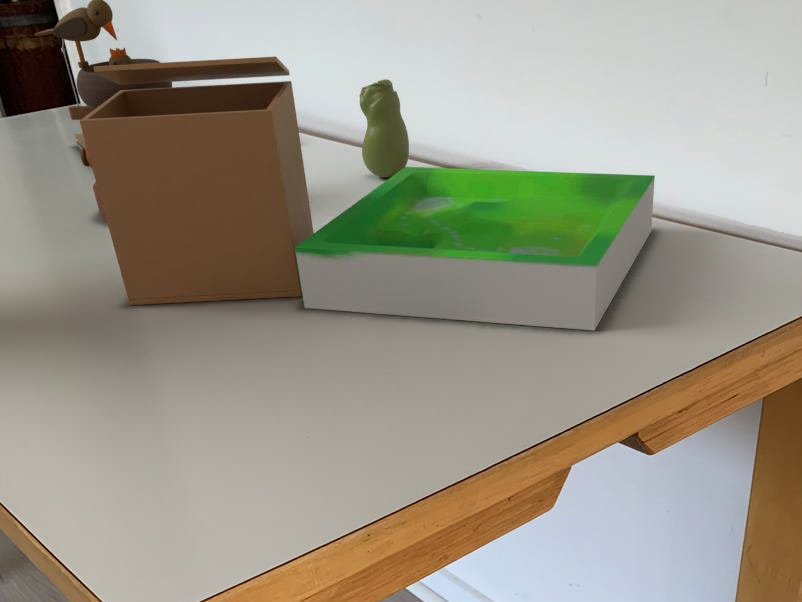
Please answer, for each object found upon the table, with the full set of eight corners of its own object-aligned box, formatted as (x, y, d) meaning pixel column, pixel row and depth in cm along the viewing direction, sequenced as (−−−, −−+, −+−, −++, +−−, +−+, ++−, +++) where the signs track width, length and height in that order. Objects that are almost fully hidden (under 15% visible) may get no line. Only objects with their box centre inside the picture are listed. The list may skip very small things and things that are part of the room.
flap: (94, 72, 79) (93, 66, 79) (118, 84, 85) (118, 79, 85) (276, 61, 79) (276, 56, 79) (289, 75, 85) (289, 70, 84)
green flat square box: (651, 231, 94) (654, 175, 91) (594, 330, 76) (596, 265, 73) (409, 219, 101) (405, 166, 98) (304, 307, 83) (294, 247, 80)
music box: (76, 232, 102) (14, 5, 91) (96, 211, 111) (41, 2, 100) (223, 218, 104) (179, -7, 92) (231, 199, 113) (192, -9, 101)
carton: (129, 305, 85) (79, 120, 76) (161, 259, 94) (120, 90, 85) (301, 296, 85) (271, 110, 76) (316, 251, 94) (291, 80, 85)
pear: (395, 184, 111) (386, 85, 105) (355, 181, 113) (344, 83, 107) (419, 172, 115) (411, 75, 109) (380, 168, 117) (370, 73, 111)
